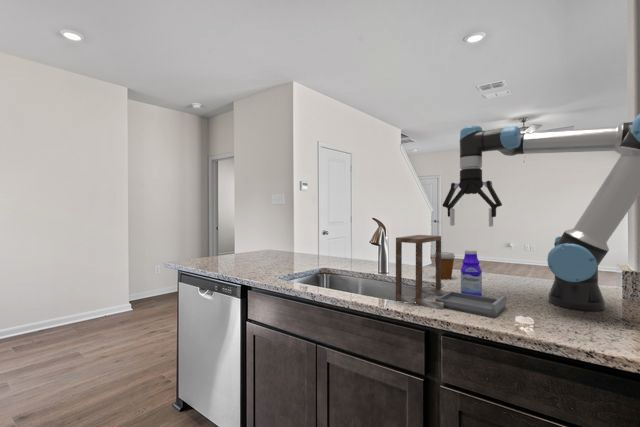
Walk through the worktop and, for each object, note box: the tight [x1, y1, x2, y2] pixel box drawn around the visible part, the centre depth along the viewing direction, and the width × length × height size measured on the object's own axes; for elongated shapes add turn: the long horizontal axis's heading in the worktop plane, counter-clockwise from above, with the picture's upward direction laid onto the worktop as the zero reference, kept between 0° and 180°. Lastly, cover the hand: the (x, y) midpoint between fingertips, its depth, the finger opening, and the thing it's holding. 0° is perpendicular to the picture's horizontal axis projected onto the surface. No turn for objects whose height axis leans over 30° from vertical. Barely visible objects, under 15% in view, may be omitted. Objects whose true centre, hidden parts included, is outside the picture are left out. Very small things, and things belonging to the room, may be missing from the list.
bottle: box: [460, 249, 483, 296], centre depth 121 cm, size 7×6×17 cm
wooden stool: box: [395, 234, 451, 310], centre depth 117 cm, size 16×19×22 cm
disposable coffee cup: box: [433, 251, 456, 280], centre depth 154 cm, size 10×10×12 cm
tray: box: [435, 290, 507, 319], centre depth 108 cm, size 18×14×4 cm
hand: (470, 226), depth 121 cm, fingers open, 13 cm apart
